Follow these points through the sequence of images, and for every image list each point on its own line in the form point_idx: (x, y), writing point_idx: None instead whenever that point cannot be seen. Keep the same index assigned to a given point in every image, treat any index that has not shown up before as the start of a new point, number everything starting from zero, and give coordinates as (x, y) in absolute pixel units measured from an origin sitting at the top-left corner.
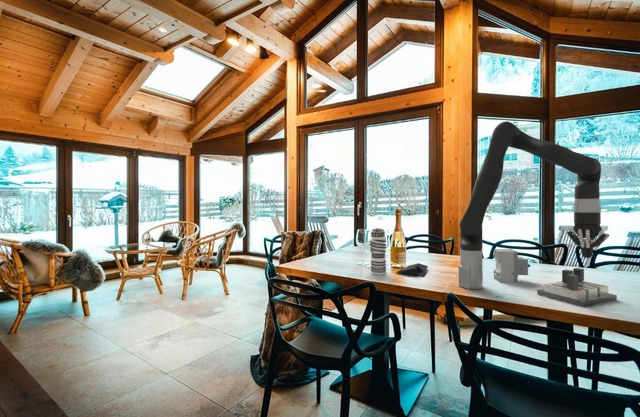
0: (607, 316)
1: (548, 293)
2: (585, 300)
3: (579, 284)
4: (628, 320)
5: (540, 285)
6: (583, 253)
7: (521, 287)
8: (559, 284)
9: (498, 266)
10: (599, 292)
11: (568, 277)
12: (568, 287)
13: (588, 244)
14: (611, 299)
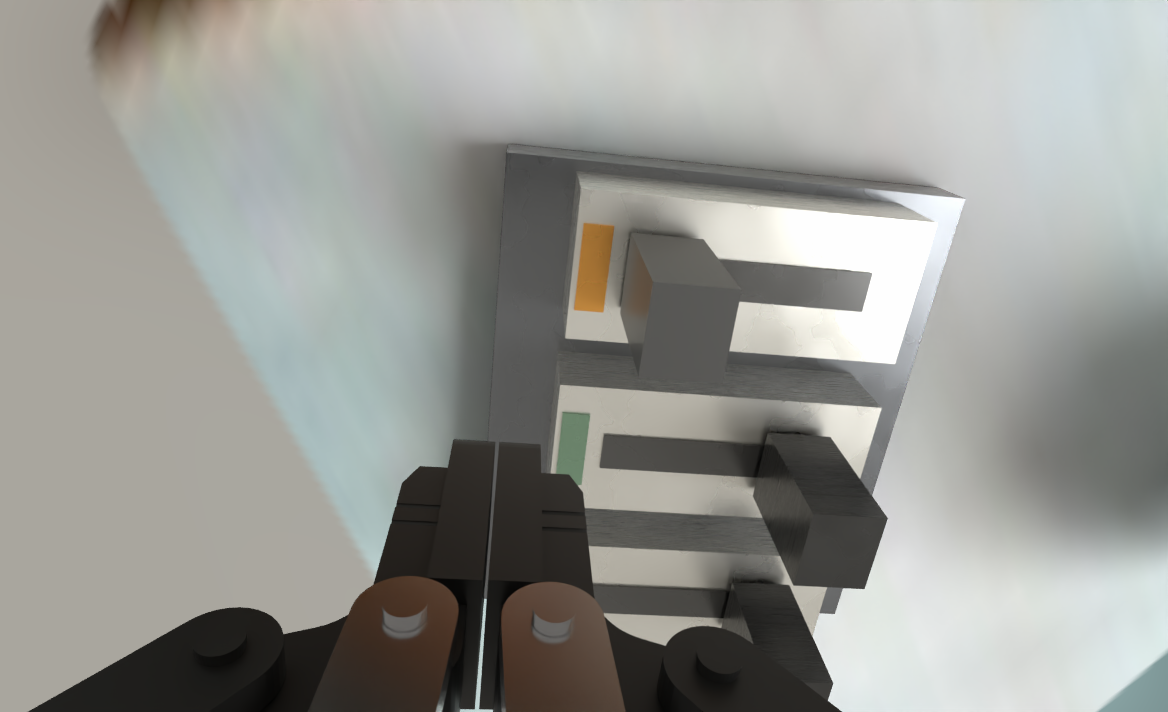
0: (263, 33)
1: (845, 183)
2: (520, 216)
3: (697, 502)
4: (129, 76)
5: (1020, 507)
6: (533, 486)
7: (1130, 304)
8: (818, 344)
9: None
10: None
11: (713, 279)
12: (687, 241)
13: (370, 663)
14: None
